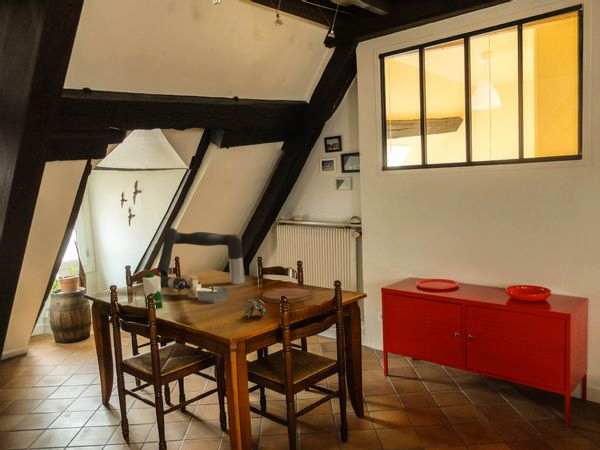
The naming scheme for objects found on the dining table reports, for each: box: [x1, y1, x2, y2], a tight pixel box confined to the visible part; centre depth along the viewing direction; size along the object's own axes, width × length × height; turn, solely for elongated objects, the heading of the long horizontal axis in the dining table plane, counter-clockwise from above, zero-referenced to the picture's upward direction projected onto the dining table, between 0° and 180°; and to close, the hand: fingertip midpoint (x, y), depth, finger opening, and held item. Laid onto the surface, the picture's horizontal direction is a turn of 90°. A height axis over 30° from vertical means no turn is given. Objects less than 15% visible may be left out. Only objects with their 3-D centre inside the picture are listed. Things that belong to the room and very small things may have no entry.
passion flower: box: [241, 299, 266, 319], centre depth 254 cm, size 11×11×12 cm
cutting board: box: [260, 286, 316, 304], centre depth 293 cm, size 32×32×2 cm
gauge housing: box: [197, 285, 229, 304], centre depth 294 cm, size 13×12×6 cm
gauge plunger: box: [195, 283, 218, 298], centre depth 297 cm, size 14×7×8 cm, turn 56°
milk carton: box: [142, 272, 163, 310], centre depth 282 cm, size 9×9×20 cm
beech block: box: [186, 275, 199, 299], centre depth 303 cm, size 5×5×13 cm
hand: (195, 285), depth 302 cm, fingers open, 8 cm apart
